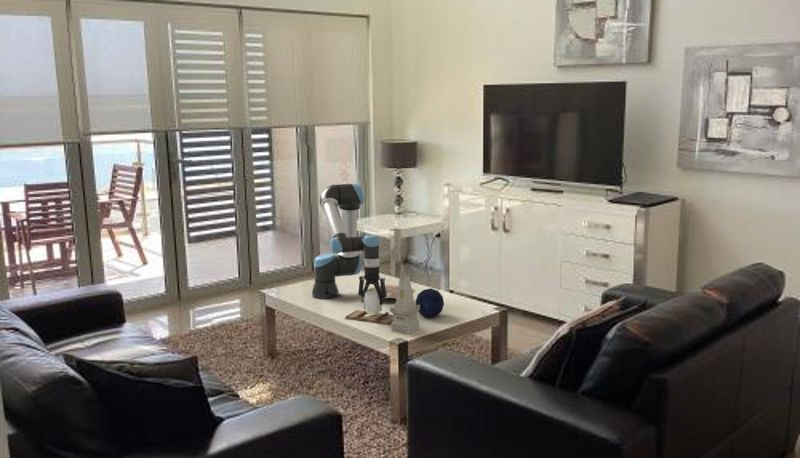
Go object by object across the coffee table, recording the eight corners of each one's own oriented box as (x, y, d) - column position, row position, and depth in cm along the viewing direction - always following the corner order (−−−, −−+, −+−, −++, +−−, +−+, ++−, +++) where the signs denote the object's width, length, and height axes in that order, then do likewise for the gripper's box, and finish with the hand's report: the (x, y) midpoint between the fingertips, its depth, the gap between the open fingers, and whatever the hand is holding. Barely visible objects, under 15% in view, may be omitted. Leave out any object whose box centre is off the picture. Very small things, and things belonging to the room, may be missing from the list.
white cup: (383, 311, 354) (383, 292, 352) (372, 315, 348) (372, 296, 346) (372, 308, 359) (372, 290, 357) (361, 312, 353) (361, 293, 351)
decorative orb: (454, 307, 353) (441, 281, 358) (434, 313, 343) (420, 286, 347) (438, 318, 363) (425, 293, 367) (417, 325, 353) (405, 299, 357)
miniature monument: (390, 331, 333) (389, 270, 328) (401, 325, 342) (400, 265, 337) (409, 334, 328) (408, 273, 323) (420, 328, 337) (419, 268, 332)
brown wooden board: (345, 318, 354) (345, 314, 354) (357, 312, 365) (357, 307, 364) (389, 324, 343) (389, 320, 343) (400, 318, 354) (400, 313, 353)
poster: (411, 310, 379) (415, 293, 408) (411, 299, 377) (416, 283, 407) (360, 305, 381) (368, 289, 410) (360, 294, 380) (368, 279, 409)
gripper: (350, 265, 350) (351, 309, 354) (386, 269, 341) (387, 314, 345) (357, 262, 357) (358, 305, 361) (393, 266, 348) (394, 310, 352)
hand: (372, 309), depth 353 cm, fingers closed on white cup, 8 cm apart
